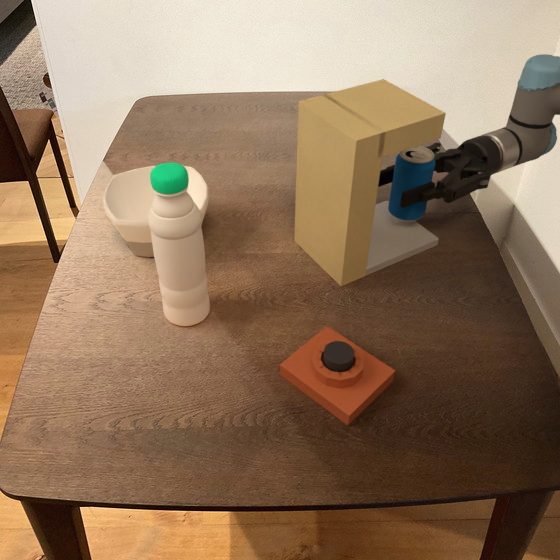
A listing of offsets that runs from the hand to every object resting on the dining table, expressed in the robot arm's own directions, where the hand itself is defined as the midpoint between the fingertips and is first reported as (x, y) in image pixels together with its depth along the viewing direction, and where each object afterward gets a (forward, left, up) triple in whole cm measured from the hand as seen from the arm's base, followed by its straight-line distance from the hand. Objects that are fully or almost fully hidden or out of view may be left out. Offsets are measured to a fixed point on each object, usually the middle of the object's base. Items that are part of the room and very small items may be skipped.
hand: (388, 190), depth 97 cm
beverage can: (-1, -5, -7) cm, 8 cm away
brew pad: (-17, +29, -10) cm, 35 cm away
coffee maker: (+1, +3, -10) cm, 10 cm away
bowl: (+26, +29, -10) cm, 40 cm away
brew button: (-17, +29, -6) cm, 34 cm away
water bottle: (+7, +37, -10) cm, 39 cm away
